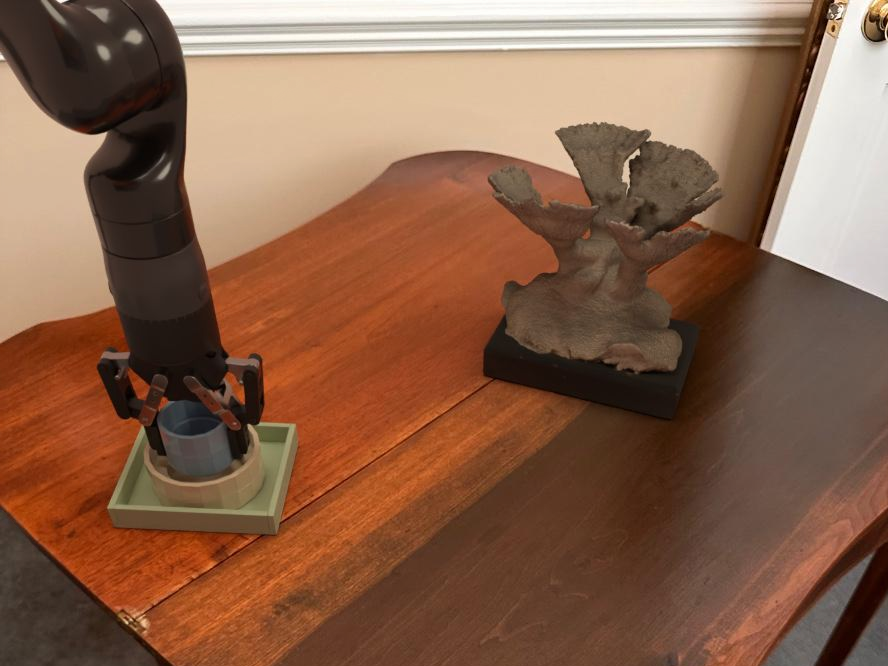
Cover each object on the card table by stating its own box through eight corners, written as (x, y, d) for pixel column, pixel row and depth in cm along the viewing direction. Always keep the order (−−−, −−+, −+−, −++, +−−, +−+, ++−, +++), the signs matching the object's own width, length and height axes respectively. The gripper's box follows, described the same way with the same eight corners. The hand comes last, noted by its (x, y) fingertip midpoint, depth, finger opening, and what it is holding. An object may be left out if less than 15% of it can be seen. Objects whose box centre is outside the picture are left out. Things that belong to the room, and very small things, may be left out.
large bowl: (142, 518, 82) (130, 483, 78) (170, 445, 88) (160, 409, 85) (254, 524, 82) (247, 488, 78) (274, 450, 88) (268, 414, 85)
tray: (114, 527, 81) (106, 508, 79) (151, 436, 89) (145, 416, 87) (276, 535, 81) (273, 515, 79) (298, 442, 89) (295, 423, 87)
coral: (452, 368, 98) (458, 174, 82) (511, 280, 110) (527, 97, 94) (670, 424, 92) (723, 229, 76) (707, 326, 105) (760, 139, 88)
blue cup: (161, 478, 80) (148, 436, 77) (178, 434, 85) (166, 392, 81) (230, 482, 80) (221, 439, 77) (244, 437, 84) (235, 395, 81)
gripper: (260, 270, 72) (284, 430, 84) (86, 262, 72) (137, 423, 84) (242, 321, 67) (271, 482, 79) (56, 312, 67) (114, 475, 80)
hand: (202, 451), depth 82 cm, fingers closed on blue cup, 6 cm apart
